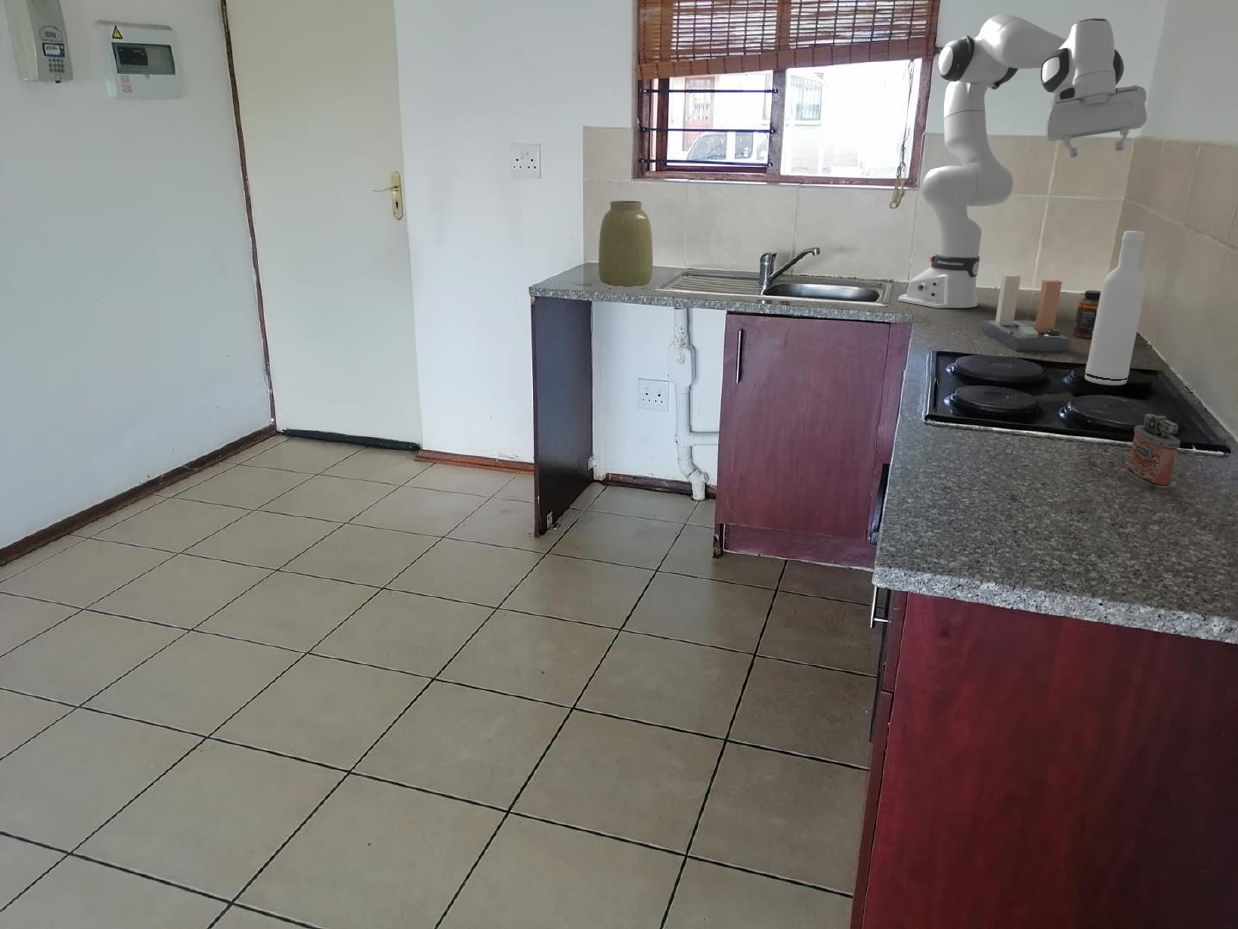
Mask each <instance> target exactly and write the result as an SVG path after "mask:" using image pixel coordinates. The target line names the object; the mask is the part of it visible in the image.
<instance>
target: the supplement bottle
mask: <svg viewBox="0 0 1238 929" xmlns="http://www.w3.org/2000/svg"><path fill="white" fill-rule="evenodd" d="M1100 294H1101V291H1100V290H1092V289H1091V290H1085V292H1084V298H1082V299H1080V300H1079V302H1078V307H1077V312H1076V313H1077V314H1076V317H1075V322H1074V323H1075V324H1074V328H1073V335H1074V336H1075V337H1077V338H1081V339H1092V337H1093V331H1094V326H1095V321H1096V315H1097V310H1098V305H1099V299H1100Z"/></svg>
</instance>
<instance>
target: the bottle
mask: <svg viewBox="0 0 1238 929" xmlns="http://www.w3.org/2000/svg"><path fill="white" fill-rule="evenodd" d="M1145 234H1146V233H1145V232H1144V231H1141V230H1140V231H1139V230H1125V231H1123V236H1121V247H1120V252H1119V256H1118V257H1119V258H1118V262H1117V266H1116V267H1115V268H1114V269H1112V270H1111V271H1110V272H1109V273H1107V275H1106V277H1105V278H1104V280H1103V282H1102V285H1101V289H1100V290H1101V294H1100V299H1099V305H1098V310H1097V315H1096V321H1095V326H1094V331H1093V337H1092V338H1091V343H1090V348H1089V352H1088V359H1087V361H1086V362H1087V363H1086V366H1085V373H1084V374H1085V375H1084V379H1085V380H1086V381H1088V382H1091V383H1094V384H1098V385H1105V386H1122V385H1125V384H1127V381H1128V377H1129V374H1130V370H1131V369H1130V368H1131V367H1130V366H1131V361H1132V356H1133V352H1134V348H1135V342H1136V337H1137V333H1138V328H1139V323H1140V318H1141V313H1142V308H1143V302H1144V299H1145V294H1146V293H1145V292H1146V288H1147V285H1146V279H1145V275H1144V274H1143V273H1142V272H1141V270H1140V269H1139V263H1140V259H1141V253H1142V248H1143V243H1145ZM1086 373H1087V374H1091V375H1094V376H1098V377H1103V378H1110V379H1125V378H1127V379H1126V380H1121V381H1111V380H1102V379H1096V378H1092V377H1089V376H1087V375H1086Z"/></svg>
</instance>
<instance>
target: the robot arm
mask: <svg viewBox="0 0 1238 929" xmlns="http://www.w3.org/2000/svg"><path fill="white" fill-rule="evenodd" d="M1070 28H1071V29H1070V31H1069V32H1070V33H1069V35H1068V37H1067V38H1066V39H1065V38H1063V37H1061V36H1059V35H1057V34H1055V33H1052V32H1050V31H1048V30H1047V29H1046V30H1045V28H1042V27H1040V26H1038V25H1035V24H1034V23H1032V22H1031V21H1028V20H1026V19H1024V18H1022V17H1019V16H1015V15H1012V14H996V15H994V16H992V17H990V18H989V19H988V20H987V21H986V22H985V23H984V24H983V26H982V27H981V29H980V33H979V34H978V35H977V36H975V37H970V35H968V34H966V35H965V36H963V37H961V38H959V39H956V40H952V41H950V42H948V43H947V44H945V46H944V47H943V48H942V49H941V51H940V53H939V57H938V63H937V67H938V73H939V75H940V77H941V78H942V80H946V81H948V82H950V83H949V84H948V85H947V87H946V89H945V96H944V104H943V133H944V137H943V138H944V146H945V149H946V151H947V152H948V153H949V154H950V155H952V156H954V157H955V158H956V159H957V160H958V161H959V162H960V163H961V165H945V166H940V167H937V168H932V169H930V170H929V171H928V172H927V173H926V175H925V176H924V178H923V180H922V183H921V193H922V196H923V198H924V200H925V201H926V203H928V204H929V205H930V206H931V208H932V209H933V210H934V212H935V213H936V215H937V219H938V222H939V245H938V253H937V254H935V255H933V256H932V257H929V260H928V262H931V265H930V267H929V268H927V269H926V270H924V271H922V272H921V273H918V275H916V276H914V277H913V278H911V280H910V281H909V284H908V286H907V291H906V293H904V294H901V295H899V296H898V301H899V302H903V303H910V304H915V305H919V306H926V307H931V308H935V309H967V308H969V309H970V308H975V307H977V306H978V299H977V289H976V288H977V276H978V273H979V268H980V260H981V258H980V256H979V253H980V247H981V246H980V245H981V240H982V229H981V227H980V225H979V224H978V223H977V222H976V221H974V220H973V219H971V218H969V216H968V215H969V214H968V208H967V207H989V206H993V205H997V204H1002V203H1004V202H1006V201H1007V199H1008V198H1009V197H1010V195H1011V193H1012V192H1013V188H1014V178H1013V175H1012V173H1011V172H1010V170H1009V169H1007V167H1005V166H1003V165H1002V164H1001V163H1000V162H999V161H998V160H997V158H996V157H995V155H994V153H993V151H992V149H991V147H990V143H989V140H988V133H987V132H988V131H987V121H986V104H985V95H986V93H987V90H988V89H991V90H993V91H994V90H998V89H999V88H1000V87H1001V86H1002V84H1005V83H1007V82H1009V81H1010V80H1012V78H1013V77H1014V76H1015V75H1016V73H1017V72H1018V71H1019V70H1020V69H1022V70H1026V69H1040V82H1041V85H1042V87H1043V88H1044V90H1045V91H1046V92H1048V93H1052V94H1054V95H1053V96H1052V98H1051V99H1050V110H1049V112H1048V114H1047V118H1046V123H1045V124H1046V125H1045V126H1046V127H1045V139H1047V141H1049V142H1053V141H1061V140H1062V144H1063V146H1064V147H1065V148H1066V150H1067V151H1068V157H1069V158H1068V159H1071V158H1076V157H1077V156H1078V147H1073V146H1072V144H1071V141H1072V139H1074V138H1081V137H1087V136H1088V137H1090V136H1094V135H1095V136H1096V135H1101V134H1108V133H1109V134H1110V133H1116V132H1119V135H1120V136H1122V137H1121V138H1120V140H1119V141H1116V142H1115V143H1114V148H1115V149H1114V151H1115V152H1122V151H1124V150H1125V149H1124V148H1125V145H1124V142H1125V140H1126V139H1127V137H1128V134H1129V133H1130V130H1136V129H1141V128H1142V127H1143V126H1144V125H1145V123H1146V122H1147V109H1146V101H1147V91H1146V89H1145V88H1144V87H1143V86H1139V85H1137V84H1136V85H1131V86H1123V87H1117V85H1118V84H1119V82H1120V81H1121V79H1122V77H1123V74H1124V69H1125V66H1124V65H1125V64H1124V61H1123V58H1122V56H1121V54H1120V53H1119V52H1118V50H1117V49H1115V40H1114V38H1115V37H1114V32H1113V29H1112V28H1113V27H1112V25H1111V23H1110V21H1109V20H1108V19H1106V18H1087V19H1083V20H1079V21H1077V22H1076V23H1074V24H1073V25H1072V26H1071V27H1070ZM1116 87H1117V88H1116Z"/></svg>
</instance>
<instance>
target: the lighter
mask: <svg viewBox="0 0 1238 929" xmlns="http://www.w3.org/2000/svg"><path fill="white" fill-rule="evenodd" d="M1133 428H1134V430H1133V432H1134V436H1133V441H1132V446H1131V451H1130V455H1129V459H1128V463H1127V464H1128V465H1127V466H1126V467H1125V470H1124V475H1125V476H1126V477H1127V478H1129V480H1132V481H1133V482H1135V483H1136V484H1138V485H1140V486H1142V487H1144V488H1146V489H1148V490H1150V491H1154V492H1158V493H1168V492H1169V491H1170V488H1171V483H1170V481H1171V477H1172V473H1173V468H1174V464H1175V460H1176V456H1177V452H1178V448H1179V447H1180V446H1181V445H1180V444H1181V440H1180V439H1179V438H1177V437H1175V436H1174V435H1172V434H1177V433H1178V429H1179V425H1178V423H1174V422H1173V421H1170V420H1168V418H1167V417H1166V415H1155V414H1153V413H1145V415H1144V424H1141V425H1140V424H1139V425H1135V426H1134V427H1133Z"/></svg>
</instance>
